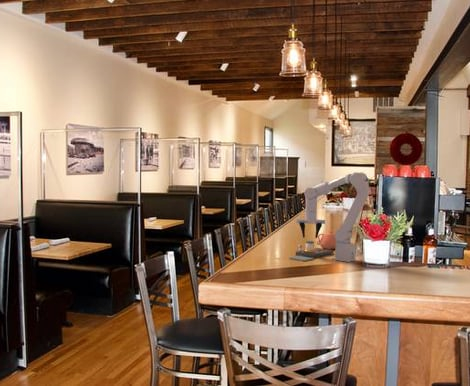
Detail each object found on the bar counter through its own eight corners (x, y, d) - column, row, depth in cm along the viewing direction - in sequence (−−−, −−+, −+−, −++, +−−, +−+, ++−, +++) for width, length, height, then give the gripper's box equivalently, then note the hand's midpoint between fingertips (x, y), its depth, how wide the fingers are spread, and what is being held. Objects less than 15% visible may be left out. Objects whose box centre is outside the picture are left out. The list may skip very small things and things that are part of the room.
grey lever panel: (333, 254, 260) (333, 250, 260) (311, 258, 246) (312, 254, 246) (317, 251, 267) (317, 247, 267) (295, 255, 253) (295, 251, 252)
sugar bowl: (343, 250, 272) (344, 232, 272) (318, 250, 273) (318, 231, 272) (339, 247, 285) (339, 229, 284) (314, 246, 285) (315, 228, 284)
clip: (300, 248, 261) (300, 242, 261) (302, 252, 251) (302, 245, 251) (297, 248, 261) (297, 242, 261) (298, 251, 251) (299, 245, 251)
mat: (313, 259, 242) (313, 258, 242) (304, 261, 237) (304, 260, 237) (298, 256, 249) (298, 255, 249) (289, 258, 243) (289, 257, 243)
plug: (317, 256, 253) (317, 241, 252) (310, 257, 249) (311, 242, 248) (308, 254, 257) (308, 240, 256) (301, 255, 253) (302, 241, 252)
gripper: (297, 211, 248) (296, 238, 248) (326, 212, 248) (325, 239, 248) (296, 210, 255) (295, 236, 255) (324, 211, 255) (323, 237, 255)
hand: (310, 237), depth 252 cm, fingers open, 6 cm apart
